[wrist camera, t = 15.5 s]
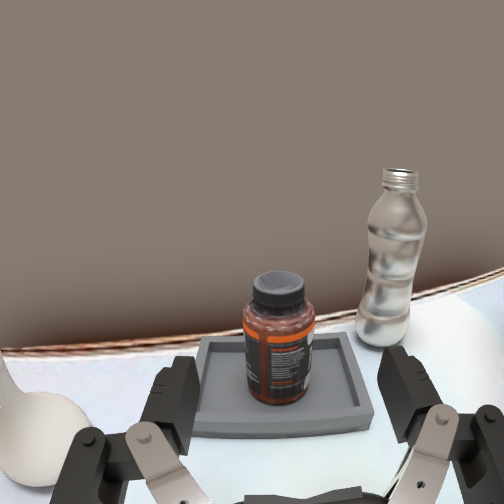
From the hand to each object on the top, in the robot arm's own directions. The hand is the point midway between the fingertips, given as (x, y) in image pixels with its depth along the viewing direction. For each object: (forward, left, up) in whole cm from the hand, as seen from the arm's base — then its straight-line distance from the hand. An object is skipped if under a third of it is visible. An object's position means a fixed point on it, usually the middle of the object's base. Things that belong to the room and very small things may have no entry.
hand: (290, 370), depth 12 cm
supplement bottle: (0, -12, -13) cm, 18 cm away
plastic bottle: (-13, -20, -14) cm, 28 cm away
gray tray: (0, -12, -14) cm, 19 cm away
